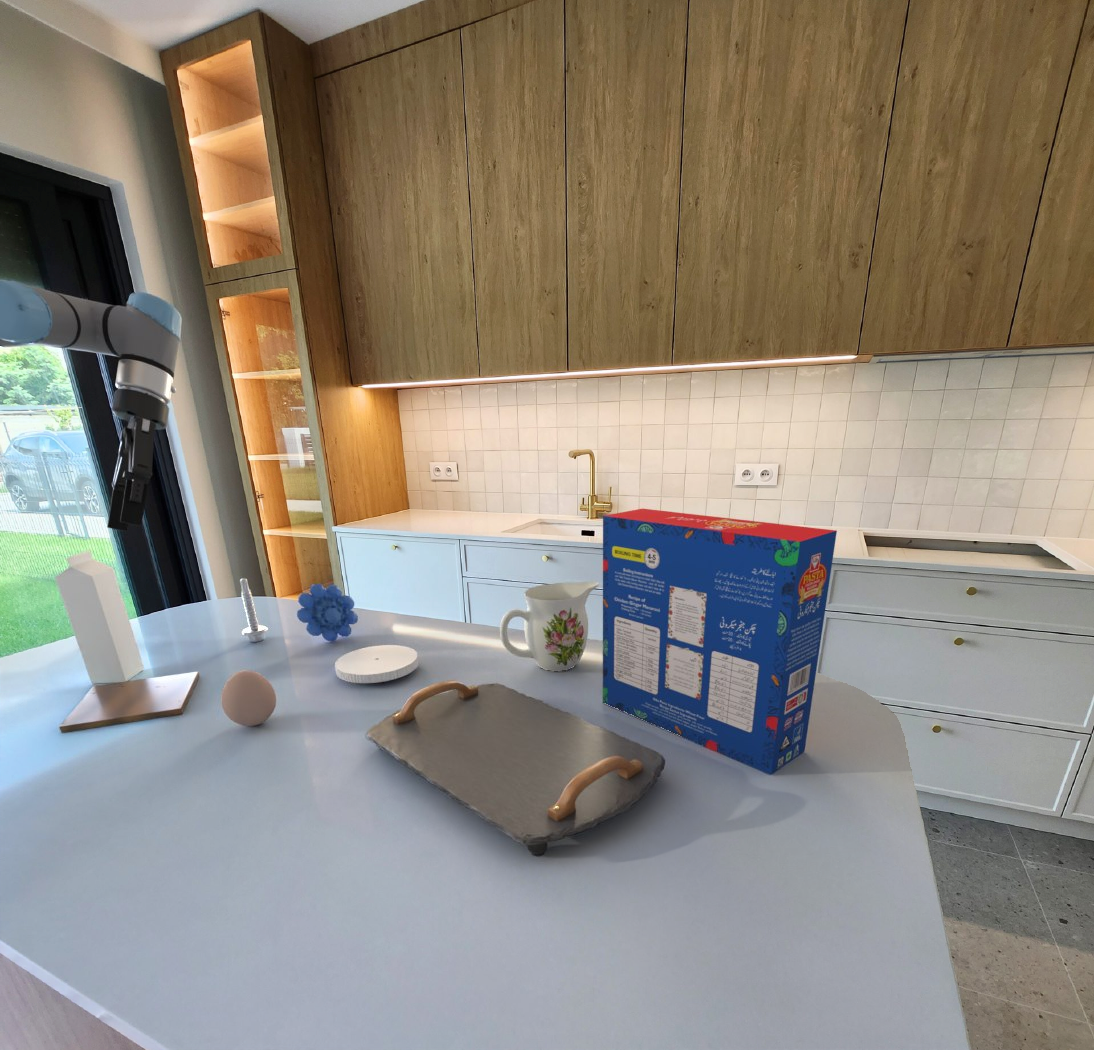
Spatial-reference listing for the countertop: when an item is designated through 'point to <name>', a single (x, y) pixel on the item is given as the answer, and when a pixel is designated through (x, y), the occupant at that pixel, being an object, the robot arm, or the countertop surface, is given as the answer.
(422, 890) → the countertop surface
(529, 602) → the pitcher
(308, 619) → the blue flower
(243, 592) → the screw
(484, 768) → the serving tray
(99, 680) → the milk
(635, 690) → the pasta box
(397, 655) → the plastic lid
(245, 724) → the egg
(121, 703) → the board
